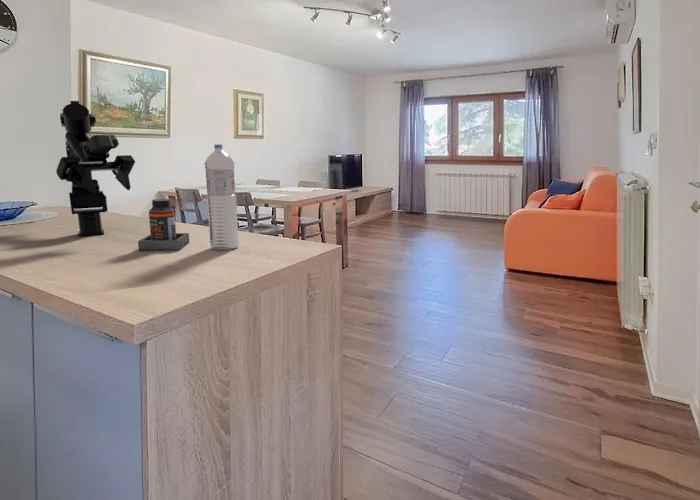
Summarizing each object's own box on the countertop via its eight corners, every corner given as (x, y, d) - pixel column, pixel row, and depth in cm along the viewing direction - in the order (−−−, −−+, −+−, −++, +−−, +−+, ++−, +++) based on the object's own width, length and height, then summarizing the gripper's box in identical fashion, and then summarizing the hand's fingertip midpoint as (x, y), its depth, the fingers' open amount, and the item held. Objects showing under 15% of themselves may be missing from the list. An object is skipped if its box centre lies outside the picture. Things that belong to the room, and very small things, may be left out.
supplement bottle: (146, 246, 119) (142, 200, 116) (159, 242, 124) (155, 198, 122) (169, 247, 118) (165, 201, 115) (181, 242, 124) (177, 198, 121)
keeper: (138, 251, 116) (137, 241, 116) (151, 243, 125) (150, 233, 125) (179, 250, 117) (178, 240, 116) (189, 242, 126) (188, 233, 126)
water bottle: (231, 251, 115) (225, 144, 110) (205, 250, 117) (197, 144, 111) (243, 245, 122) (237, 144, 116) (218, 244, 123) (211, 144, 118)
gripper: (55, 122, 116) (85, 170, 112) (127, 125, 131) (156, 167, 128) (44, 156, 122) (72, 202, 118) (114, 154, 137) (141, 195, 134)
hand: (112, 190), depth 124 cm, fingers open, 9 cm apart
